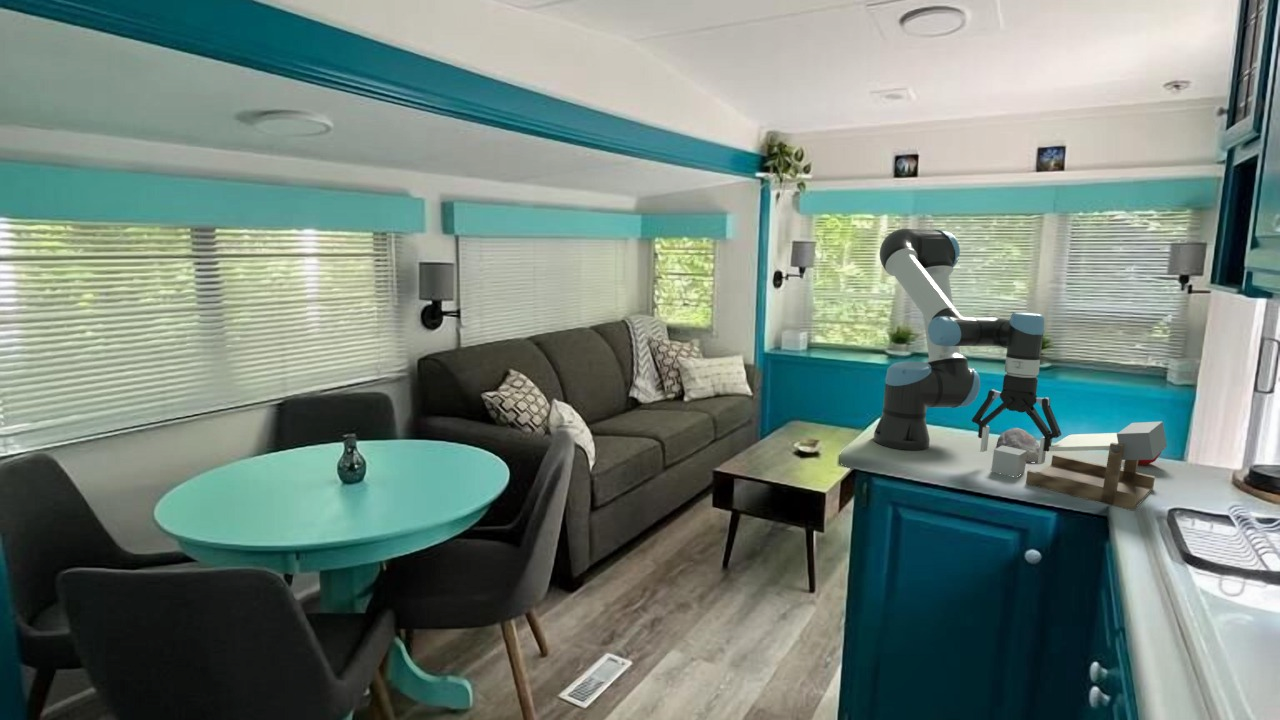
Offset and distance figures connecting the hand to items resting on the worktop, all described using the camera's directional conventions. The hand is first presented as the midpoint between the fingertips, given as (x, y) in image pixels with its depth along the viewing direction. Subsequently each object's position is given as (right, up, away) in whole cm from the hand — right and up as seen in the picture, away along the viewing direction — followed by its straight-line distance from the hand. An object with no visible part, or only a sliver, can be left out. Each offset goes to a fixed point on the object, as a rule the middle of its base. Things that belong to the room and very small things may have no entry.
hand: (1011, 457), depth 176 cm
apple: (+42, -4, +14) cm, 44 cm away
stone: (+12, -2, +18) cm, 22 cm away
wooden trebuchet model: (+15, -6, -7) cm, 18 cm away
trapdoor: (+18, +2, -11) cm, 21 cm away
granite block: (0, -4, +1) cm, 4 cm away
